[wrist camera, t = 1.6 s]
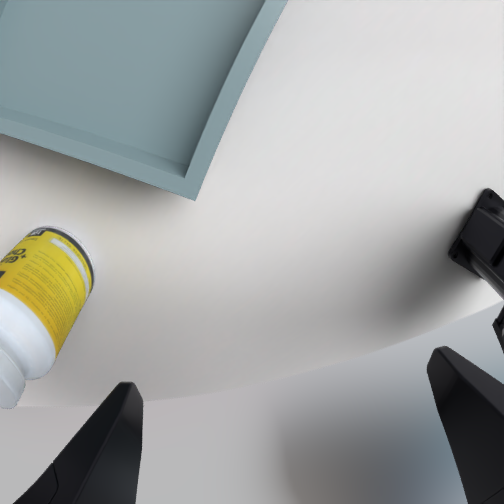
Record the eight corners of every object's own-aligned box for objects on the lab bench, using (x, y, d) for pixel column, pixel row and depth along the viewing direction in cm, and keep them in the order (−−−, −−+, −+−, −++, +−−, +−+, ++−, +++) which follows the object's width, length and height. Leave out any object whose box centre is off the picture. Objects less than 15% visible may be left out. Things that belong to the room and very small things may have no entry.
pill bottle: (70, 209, 19) (-34, 320, 9) (113, 287, 22) (55, 420, 12) (12, 239, 20) (-78, 338, 10) (53, 306, 23) (-8, 418, 13)
